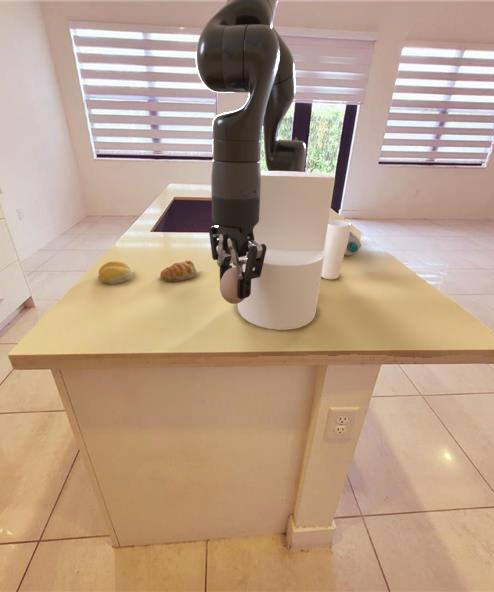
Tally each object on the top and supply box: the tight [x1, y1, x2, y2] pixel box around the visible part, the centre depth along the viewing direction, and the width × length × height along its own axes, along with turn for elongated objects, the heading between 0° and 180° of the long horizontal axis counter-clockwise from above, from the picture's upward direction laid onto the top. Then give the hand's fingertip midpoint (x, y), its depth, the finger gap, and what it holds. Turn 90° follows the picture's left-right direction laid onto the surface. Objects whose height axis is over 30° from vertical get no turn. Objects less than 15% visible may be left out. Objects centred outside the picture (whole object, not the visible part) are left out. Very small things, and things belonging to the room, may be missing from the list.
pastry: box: [160, 260, 198, 282], centre depth 83 cm, size 9×7×4 cm
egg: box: [219, 266, 245, 305], centre depth 55 cm, size 5×5×7 cm
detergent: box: [344, 231, 362, 256], centre depth 108 cm, size 13×7×25 cm
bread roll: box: [97, 260, 133, 285], centre depth 82 cm, size 8×9×4 cm
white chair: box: [237, 170, 336, 331], centre depth 64 cm, size 17×17×28 cm
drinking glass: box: [321, 219, 352, 281], centre depth 83 cm, size 7×7×15 cm
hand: (234, 290), depth 56 cm, fingers closed on egg, 5 cm apart
